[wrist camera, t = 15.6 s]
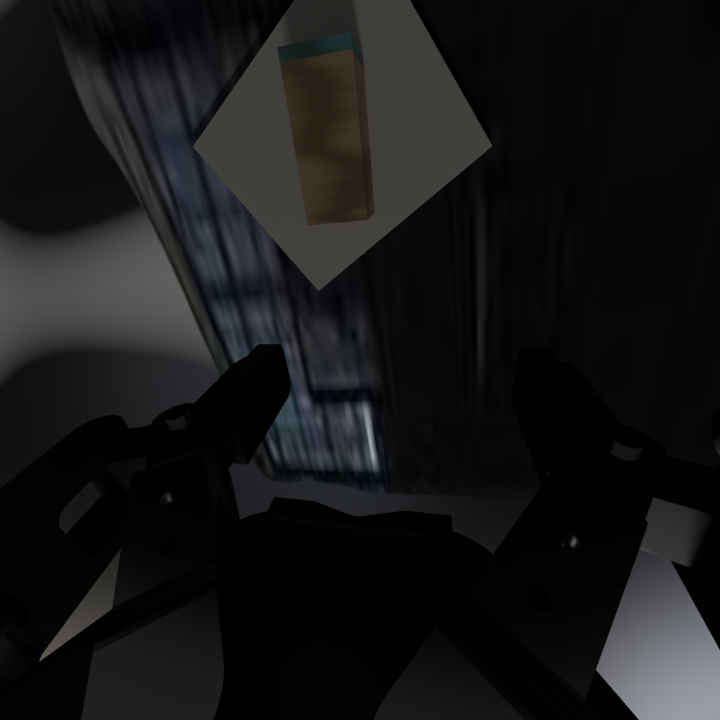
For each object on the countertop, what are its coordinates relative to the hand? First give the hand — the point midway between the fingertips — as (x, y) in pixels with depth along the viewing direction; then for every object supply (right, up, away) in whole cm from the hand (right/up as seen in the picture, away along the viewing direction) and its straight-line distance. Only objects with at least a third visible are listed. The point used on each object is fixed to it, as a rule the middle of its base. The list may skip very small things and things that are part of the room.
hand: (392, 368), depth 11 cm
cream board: (-3, +19, +18) cm, 26 cm away
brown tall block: (-3, +13, +17) cm, 22 cm away
